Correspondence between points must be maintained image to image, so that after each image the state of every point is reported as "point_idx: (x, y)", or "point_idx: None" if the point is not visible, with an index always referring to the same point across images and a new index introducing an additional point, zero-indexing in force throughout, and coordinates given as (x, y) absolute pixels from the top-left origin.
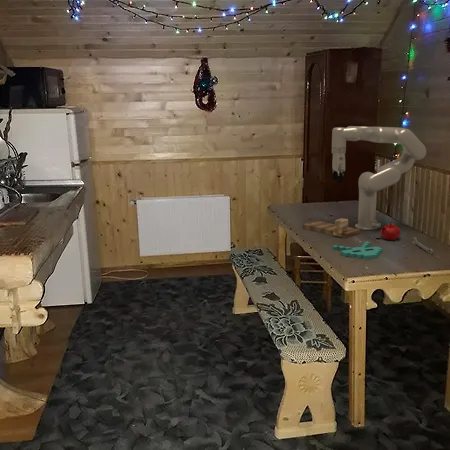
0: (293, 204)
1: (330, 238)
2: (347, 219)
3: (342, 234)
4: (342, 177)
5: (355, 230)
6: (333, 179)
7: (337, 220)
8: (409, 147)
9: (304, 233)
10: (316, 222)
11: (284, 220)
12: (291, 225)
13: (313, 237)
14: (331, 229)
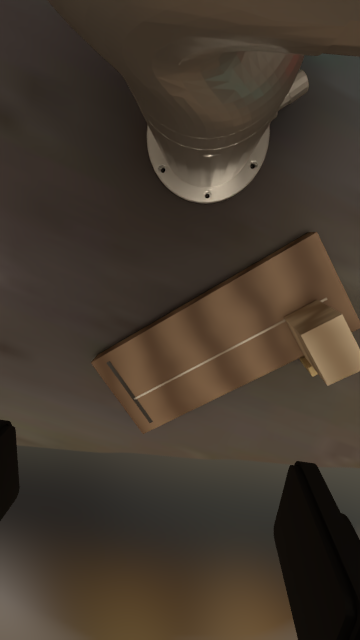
0: None
1: None
2: (342, 319)
3: None
4: (356, 571)
5: (327, 262)
6: (14, 491)
7: (339, 378)
8: None
9: (219, 440)
10: (127, 374)
11: None
12: (91, 443)
13: (286, 431)
14: (266, 360)
